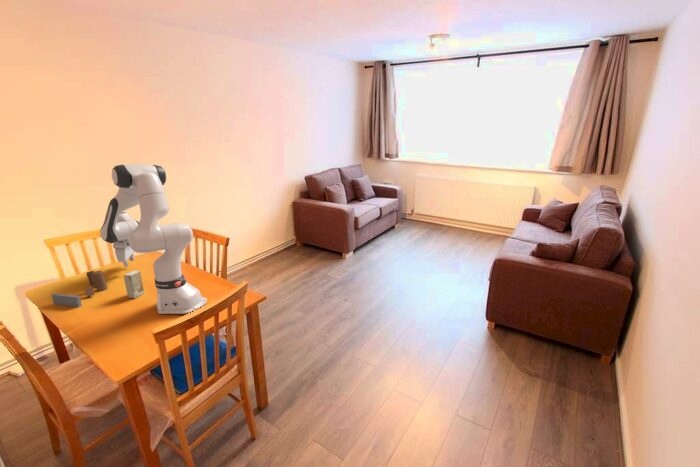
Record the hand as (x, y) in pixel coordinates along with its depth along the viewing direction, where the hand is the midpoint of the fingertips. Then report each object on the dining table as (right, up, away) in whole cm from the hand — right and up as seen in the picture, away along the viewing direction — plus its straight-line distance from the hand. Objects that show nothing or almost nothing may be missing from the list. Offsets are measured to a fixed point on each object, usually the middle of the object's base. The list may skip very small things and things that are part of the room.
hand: (129, 263), depth 191 cm
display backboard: (-7, -17, -33) cm, 38 cm away
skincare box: (+19, -14, -24) cm, 34 cm away
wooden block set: (-4, -12, -18) cm, 23 cm away
